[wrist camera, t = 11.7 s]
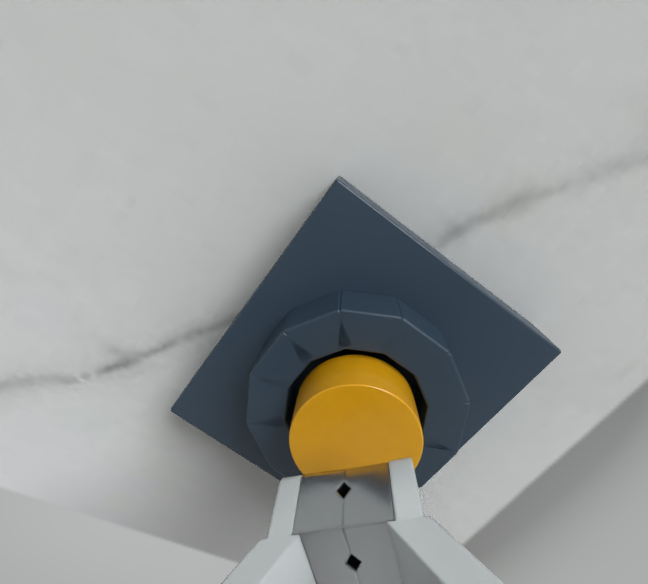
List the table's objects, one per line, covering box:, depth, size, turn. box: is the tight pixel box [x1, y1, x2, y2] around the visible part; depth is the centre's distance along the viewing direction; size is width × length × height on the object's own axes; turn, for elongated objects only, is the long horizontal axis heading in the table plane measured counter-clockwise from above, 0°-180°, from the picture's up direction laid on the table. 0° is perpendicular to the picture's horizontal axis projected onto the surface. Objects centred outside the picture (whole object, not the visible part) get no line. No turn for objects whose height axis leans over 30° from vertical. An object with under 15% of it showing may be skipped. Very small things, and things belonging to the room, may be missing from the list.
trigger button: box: [289, 354, 424, 475], centre depth 12 cm, size 4×4×2 cm
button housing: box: [171, 176, 561, 488], centre depth 14 cm, size 10×9×4 cm
